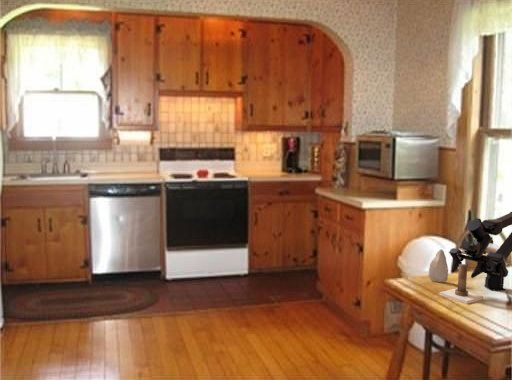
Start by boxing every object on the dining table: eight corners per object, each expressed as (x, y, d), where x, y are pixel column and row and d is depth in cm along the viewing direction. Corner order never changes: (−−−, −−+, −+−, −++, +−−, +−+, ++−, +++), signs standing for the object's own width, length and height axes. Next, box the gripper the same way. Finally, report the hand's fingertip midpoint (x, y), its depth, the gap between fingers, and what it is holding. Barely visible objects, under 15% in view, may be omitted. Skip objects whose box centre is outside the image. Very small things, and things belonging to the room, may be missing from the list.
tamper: (460, 291, 227) (461, 262, 225) (470, 294, 223) (472, 265, 221) (452, 293, 224) (454, 264, 223) (462, 296, 220) (464, 267, 218)
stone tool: (447, 281, 246) (449, 249, 244) (447, 283, 243) (449, 250, 241) (428, 279, 249) (429, 247, 247) (427, 281, 246) (429, 248, 244)
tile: (456, 290, 232) (456, 288, 232) (483, 299, 221) (483, 296, 221) (439, 295, 226) (439, 292, 226) (466, 304, 215) (466, 301, 215)
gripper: (452, 229, 231) (434, 258, 226) (492, 237, 215) (473, 268, 211) (463, 245, 236) (445, 273, 231) (503, 254, 220) (484, 284, 216)
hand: (461, 274), depth 222 cm, fingers open, 9 cm apart
